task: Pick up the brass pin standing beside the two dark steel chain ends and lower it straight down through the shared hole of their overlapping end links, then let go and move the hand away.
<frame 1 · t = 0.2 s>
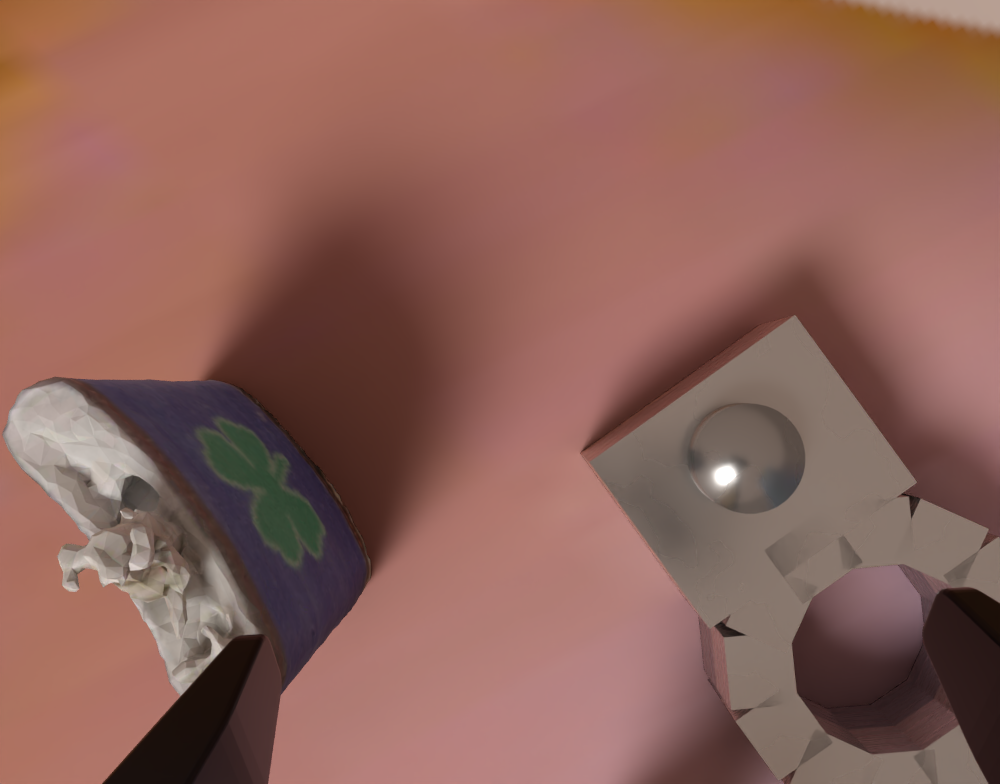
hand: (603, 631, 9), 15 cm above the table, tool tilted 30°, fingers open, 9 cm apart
flask: (285, 489, 24), on the table
chain ends: (840, 625, 24), on the table
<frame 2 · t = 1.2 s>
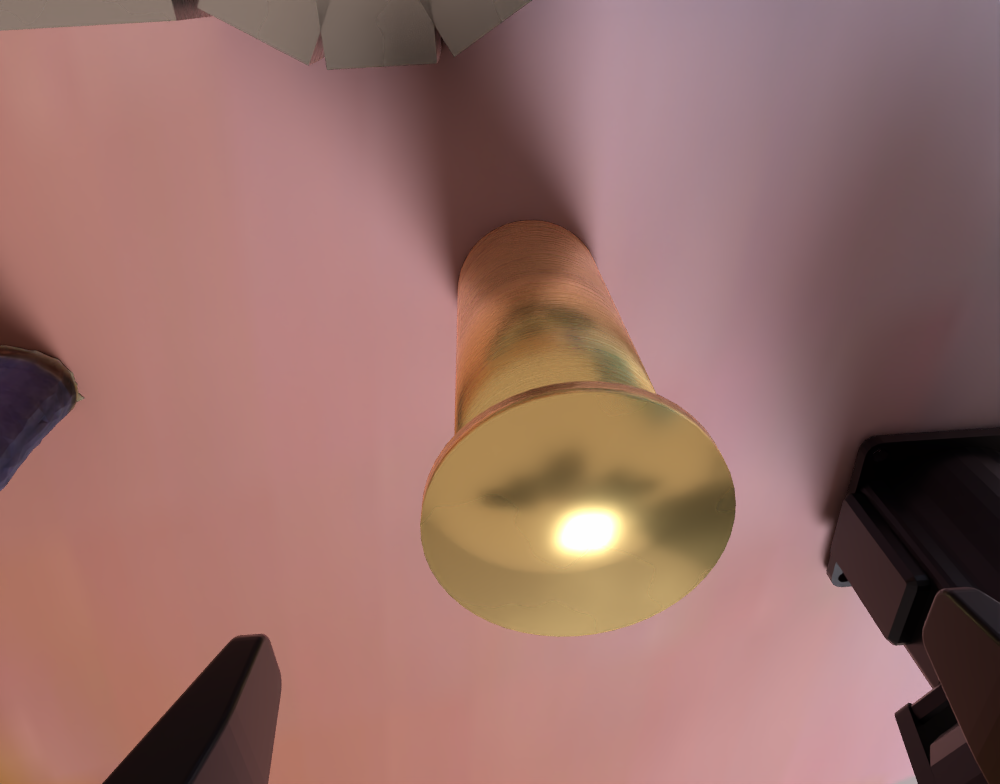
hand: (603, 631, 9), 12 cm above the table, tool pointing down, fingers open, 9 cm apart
brass pin: (528, 289, 20), on the table
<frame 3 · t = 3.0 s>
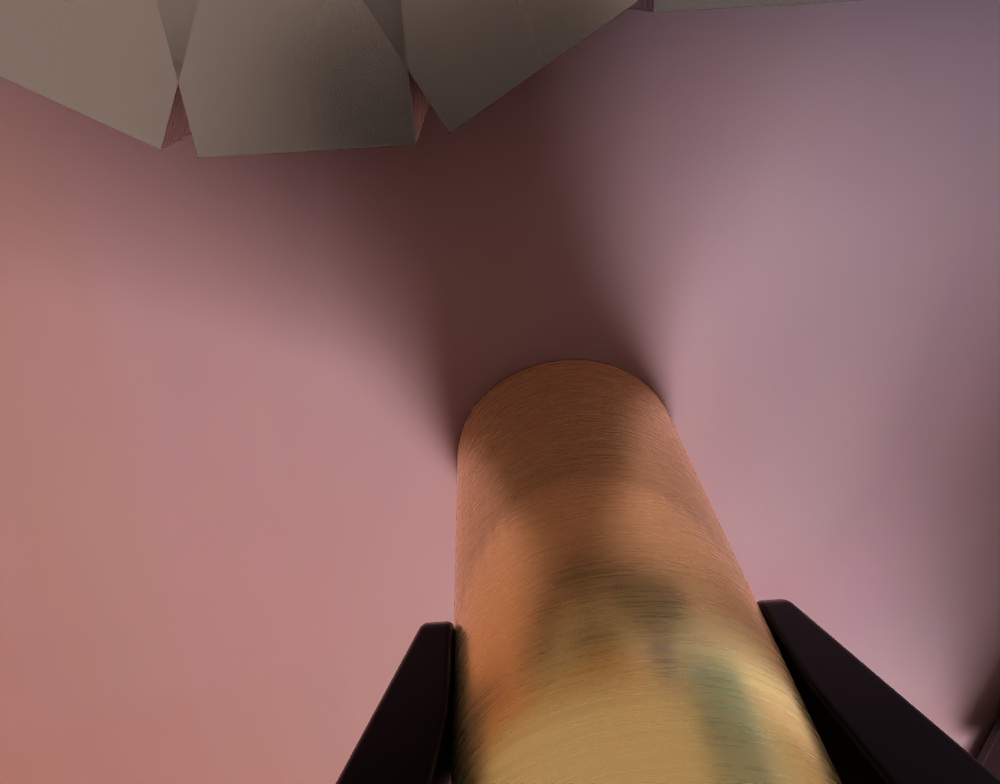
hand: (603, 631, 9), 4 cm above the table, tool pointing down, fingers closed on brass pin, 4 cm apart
brass pin: (565, 455, 13), on the table, touching gripper
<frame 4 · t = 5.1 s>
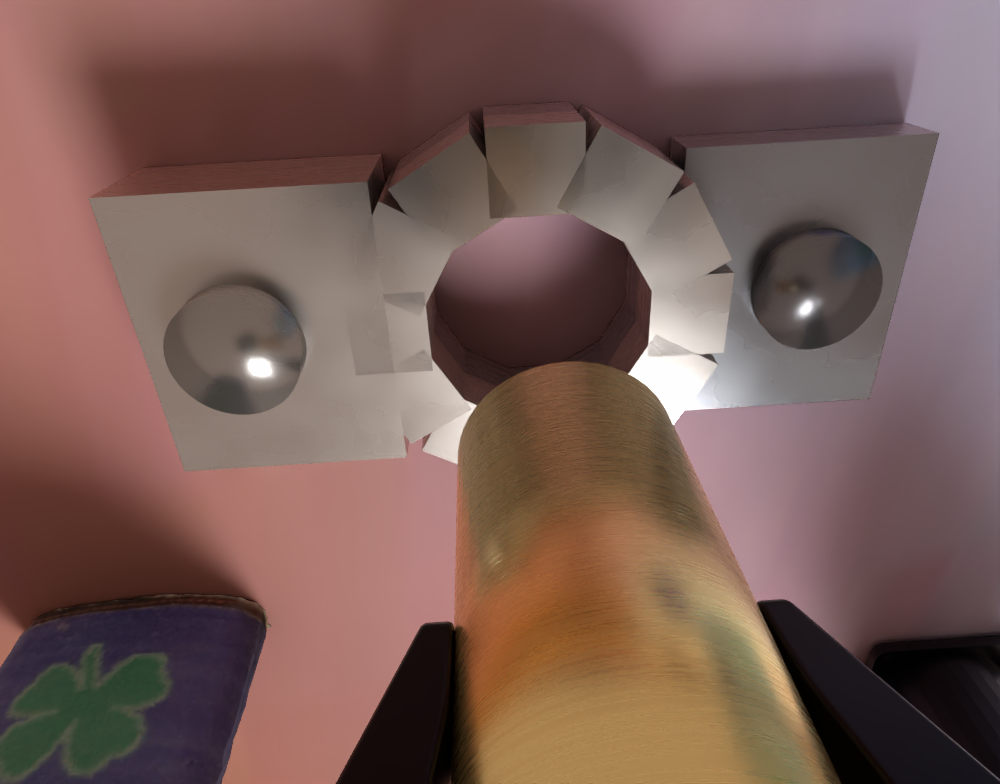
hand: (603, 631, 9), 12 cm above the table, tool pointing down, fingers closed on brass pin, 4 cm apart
flask: (152, 618, 27), on the table
brass pin: (566, 457, 13), point 8 cm above the table, touching gripper
chain ends: (530, 281, 20), on the table
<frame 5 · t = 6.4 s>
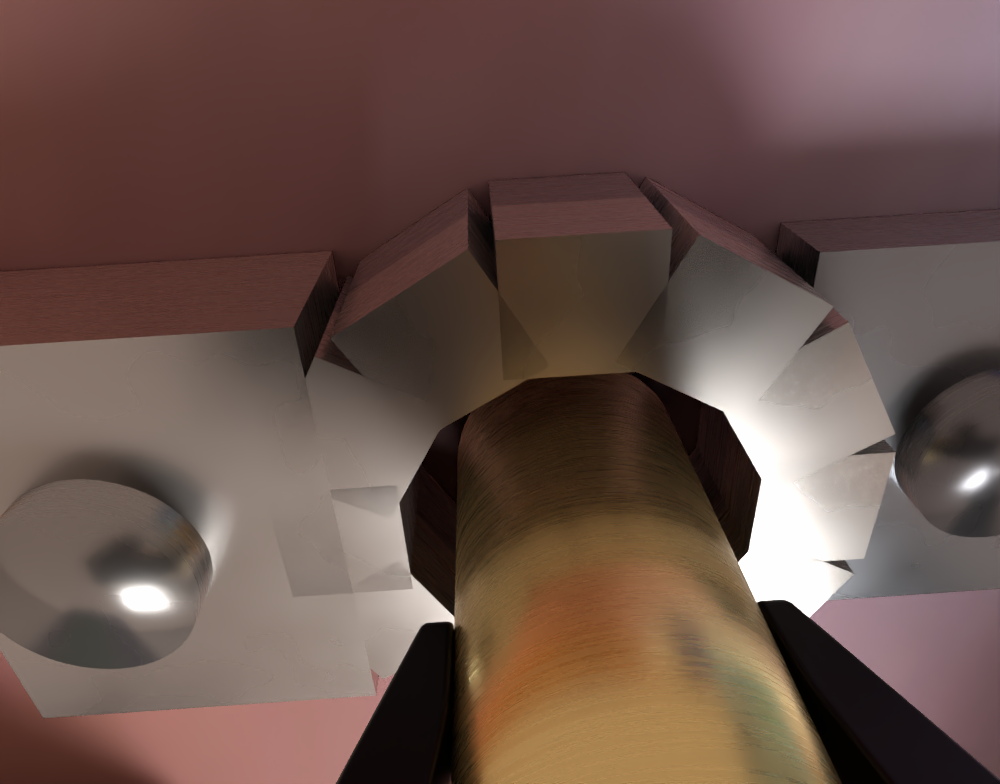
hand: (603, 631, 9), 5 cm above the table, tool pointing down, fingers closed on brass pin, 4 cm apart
brass pin: (566, 456, 13), point 1 cm above the table, touching gripper
chain ends: (558, 424, 14), on the table
when the fingers open (5 cm above the table, at t = 7.3 s): brass pin stays where it is, resting in chain ends.
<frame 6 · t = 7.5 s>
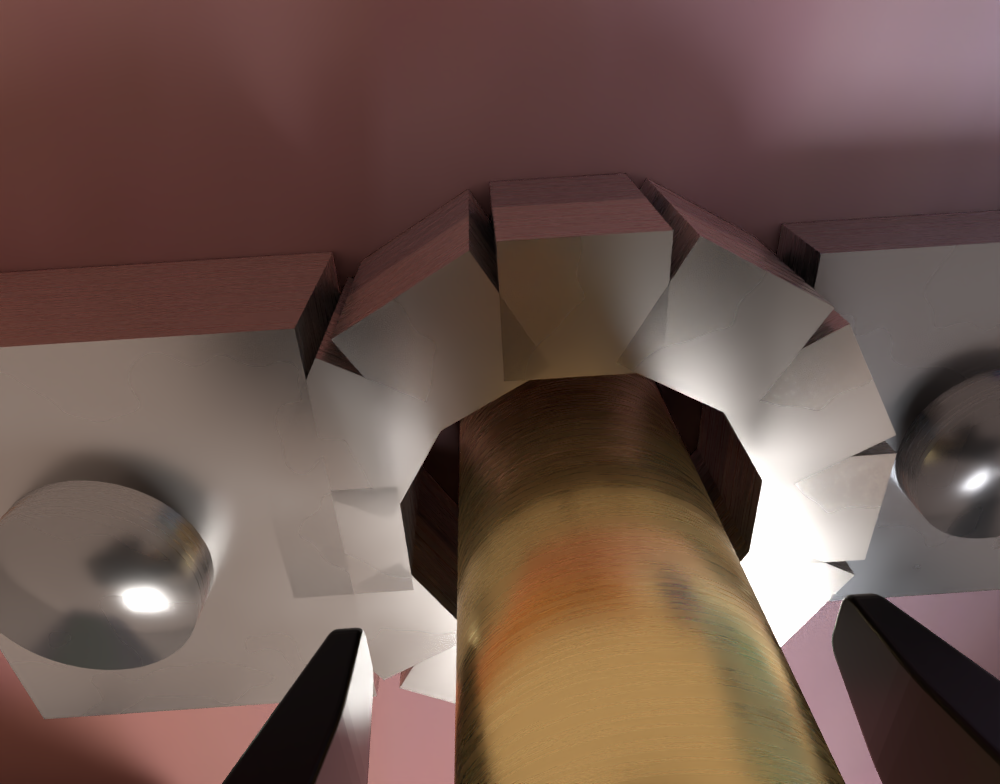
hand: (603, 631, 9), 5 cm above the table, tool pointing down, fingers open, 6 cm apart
brass pin: (561, 426, 14), resting in chain ends
chain ends: (559, 425, 14), on the table
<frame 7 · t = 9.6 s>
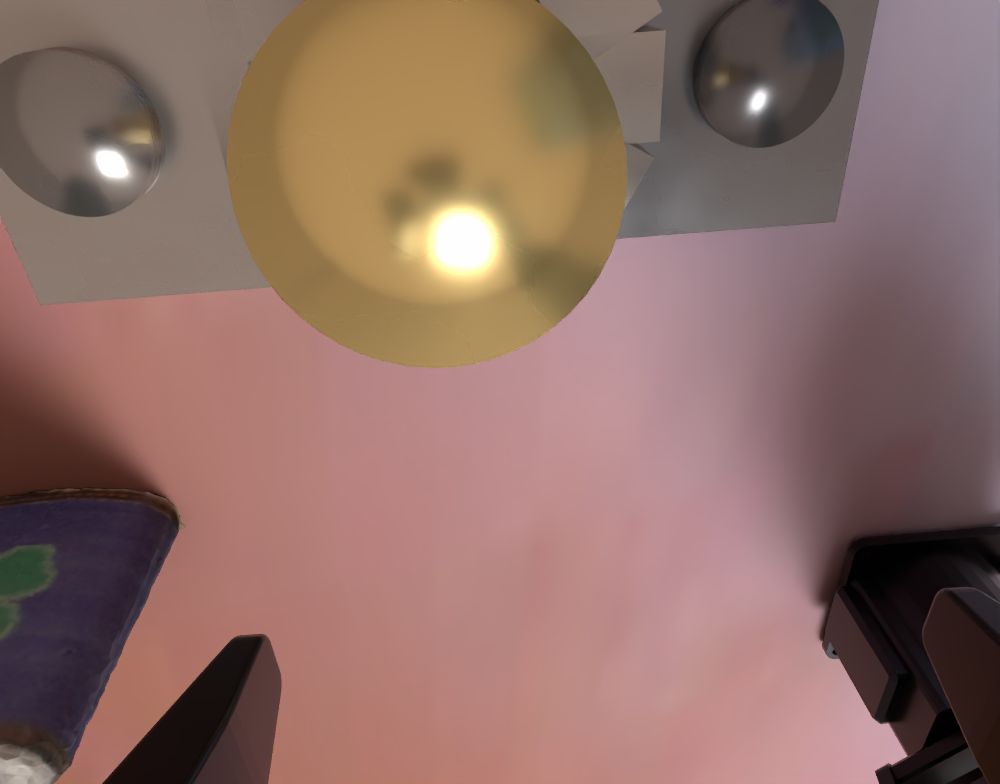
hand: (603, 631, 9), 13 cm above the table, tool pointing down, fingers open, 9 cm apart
flask: (52, 520, 24), on the table
brass pin: (443, 86, 17), resting in chain ends
chain ends: (441, 85, 17), on the table
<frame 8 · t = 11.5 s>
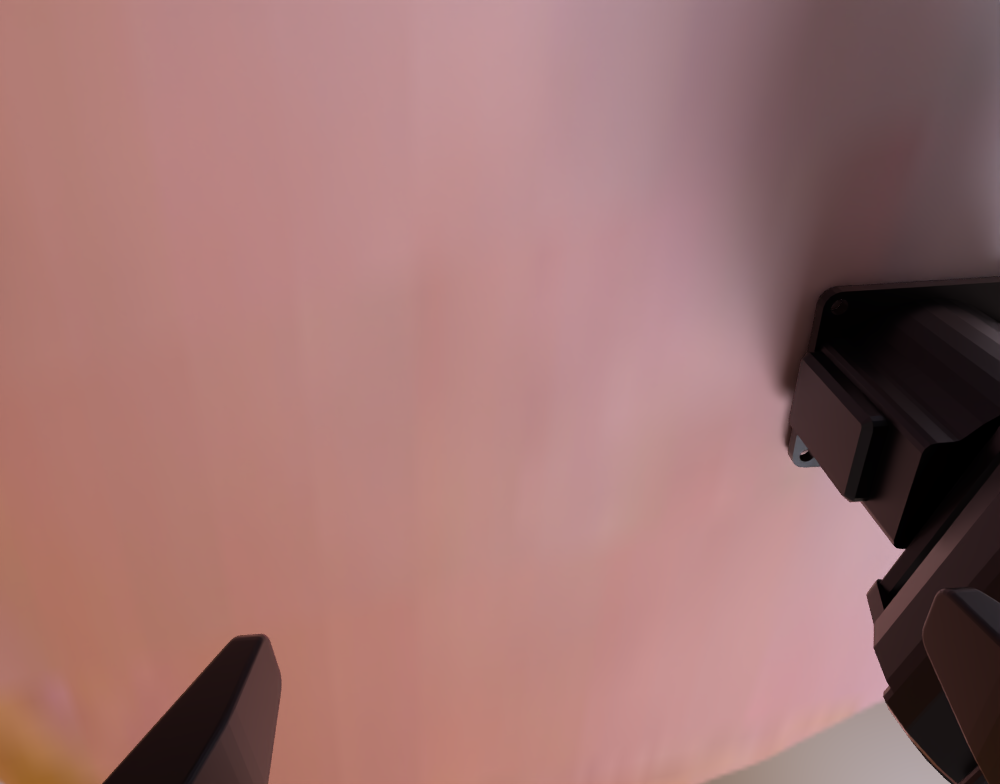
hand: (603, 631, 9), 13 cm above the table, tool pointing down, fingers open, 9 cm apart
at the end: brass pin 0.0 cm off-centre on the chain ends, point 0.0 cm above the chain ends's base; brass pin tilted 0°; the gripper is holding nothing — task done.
